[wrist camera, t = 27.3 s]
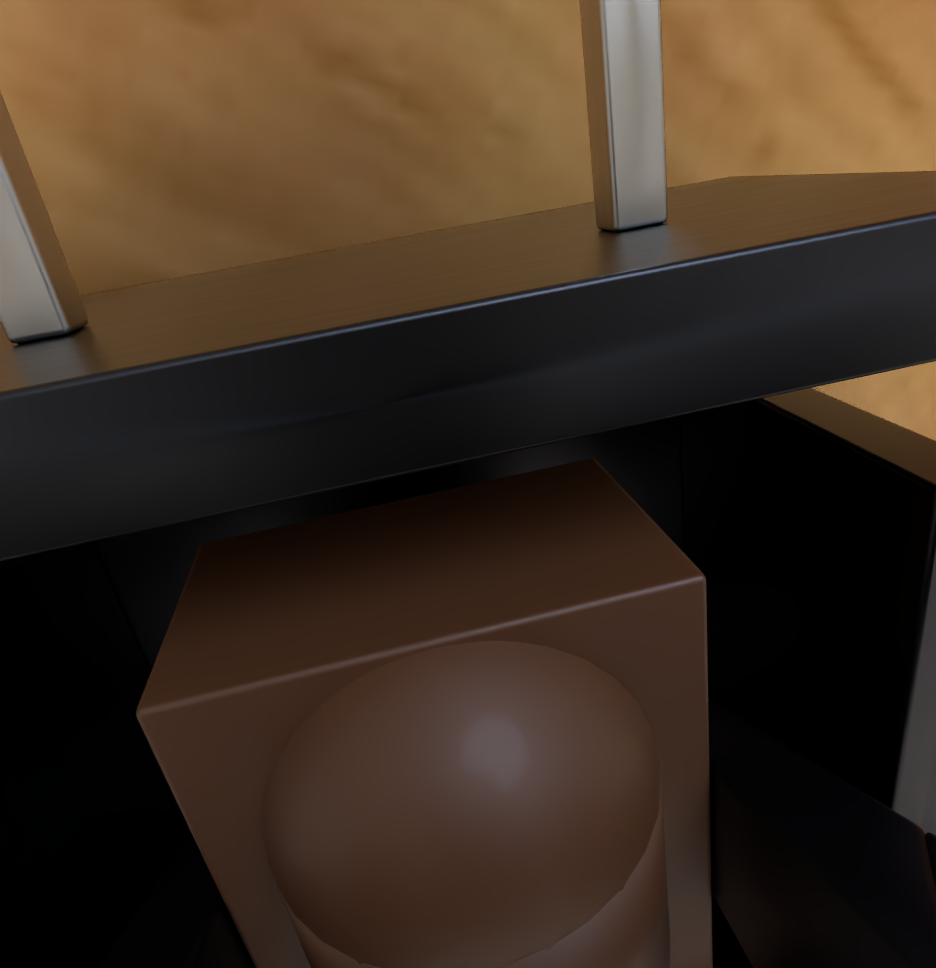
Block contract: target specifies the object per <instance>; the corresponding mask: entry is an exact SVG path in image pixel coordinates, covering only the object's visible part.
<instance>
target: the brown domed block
mask: <svg viewBox="0 0 936 968" xmlns="http://www.w3.org/2000/svg"><path fill="white" fill-rule="evenodd" d="M136 716H137V719H138V721H139V723H140V725H141V727H142V729H143V732H144V734H145V736H146V738H147V740H148V742H149V744H150V746H151V748H152V751H153V753H154V755H155V757H156V759H157V761H158V763H159V765H160V767H161V770H162V772H163V774H164V776H165V778H166V780H167V782H168V784H169V786H170V788H171V791H172V793H173V795H174V797H175V799H176V801H177V803H178V805H179V807H180V810H181V812H182V814H183V816H184V818H185V820H186V822H187V824H188V826H189V829H190V831H191V833H192V835H193V837H194V839H195V841H196V843H197V845H198V848H199V850H200V852H201V854H202V856H203V858H204V860H205V862H206V864H207V866H208V869H209V871H210V873H211V875H212V877H213V879H214V881H215V883H216V885H217V888H218V890H219V892H220V894H221V896H222V898H223V900H224V902H225V904H226V907H227V909H228V911H229V913H230V915H231V917H232V919H233V921H234V923H235V926H236V928H237V930H238V932H239V934H240V936H241V938H242V940H243V942H244V945H245V947H246V949H247V951H248V953H249V955H250V957H251V959H252V961H253V963H254V966H255V968H713V958H712V898H711V839H710V780H709V721H708V662H707V603H706V577H705V576H704V574H703V573H702V572H701V571H700V570H699V569H698V567H697V566H696V565H695V564H694V563H693V562H692V561H691V560H690V559H689V558H688V557H687V556H686V555H685V554H684V553H683V552H682V551H681V550H680V548H679V547H678V546H677V545H676V544H675V543H674V542H673V541H672V540H671V539H670V538H669V537H668V536H667V535H666V534H665V533H664V532H663V531H662V529H661V528H660V527H659V526H658V525H657V524H656V523H655V522H654V521H653V520H652V519H651V518H650V517H649V516H648V515H647V514H646V513H645V511H644V510H643V509H642V508H641V507H640V506H639V505H638V504H637V503H636V502H635V501H634V500H633V499H632V498H631V497H630V496H629V495H628V494H627V492H626V491H625V490H624V489H623V488H622V487H621V486H620V485H619V484H618V483H617V482H616V481H615V480H614V479H613V478H612V477H611V476H610V475H609V473H608V472H607V471H606V470H605V469H604V468H603V467H602V466H601V465H600V464H599V463H598V462H597V461H596V460H595V459H592V458H590V459H585V460H580V461H576V462H571V463H567V464H562V465H558V466H553V467H549V468H544V469H540V470H535V471H530V472H526V473H521V474H517V475H512V476H508V477H503V478H499V479H494V480H490V481H485V482H480V483H476V484H471V485H467V486H462V487H458V488H453V489H449V490H444V491H440V492H435V493H430V494H426V495H421V496H417V497H412V498H408V499H403V500H399V501H394V502H389V503H385V504H380V505H376V506H371V507H367V508H362V509H358V510H353V511H349V512H344V513H339V514H335V515H330V516H326V517H321V518H317V519H312V520H308V521H303V522H299V523H294V524H289V525H285V526H280V527H276V528H271V529H267V530H262V531H258V532H253V533H249V534H244V535H239V536H235V537H230V538H226V539H221V540H217V541H212V542H208V543H204V544H202V545H201V546H200V547H199V550H198V552H197V555H196V558H195V560H194V563H193V565H192V568H191V571H190V573H189V576H188V578H187V581H186V583H185V586H184V589H183V591H182V594H181V596H180V599H179V601H178V604H177V607H176V609H175V612H174V614H173V617H172V620H171V622H170V625H169V627H168V630H167V632H166V635H165V638H164V640H163V643H162V645H161V648H160V650H159V653H158V656H157V658H156V661H155V663H154V666H153V669H152V671H151V674H150V676H149V679H148V681H147V684H146V687H145V689H144V692H143V694H142V697H141V699H140V702H139V705H138V707H137V710H136Z"/></svg>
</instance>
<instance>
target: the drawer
mask: <svg viewBox="0 0 936 968" xmlns="http://www.w3.org/2000/svg"><path fill="white" fill-rule="evenodd" d="M579 1H580V14H581V27H582V41H583V54H584V67H585V81H586V94H587V107H588V121H589V134H590V148H591V161H592V174H593V188H594V201H595V202H590V203H584V204H579V205H573V206H568V207H562V208H557V209H551V210H546V211H540V212H535V213H529V214H524V215H518V216H513V217H507V218H502V219H496V220H491V221H486V222H480V223H475V224H469V225H464V226H458V227H453V228H447V229H442V230H436V231H431V232H425V233H420V234H414V235H409V236H403V237H398V238H392V239H387V240H381V241H376V242H371V243H365V244H360V245H354V246H349V247H343V248H338V249H332V250H327V251H321V252H316V253H310V254H305V255H299V256H294V257H288V258H283V259H277V260H272V261H267V262H261V263H256V264H250V265H245V266H239V267H234V268H228V269H223V270H217V271H212V272H206V273H201V274H195V275H190V276H184V277H179V278H173V279H168V280H162V281H157V282H152V283H146V284H141V285H135V286H130V287H124V288H119V289H113V290H108V291H102V292H97V293H91V294H86V295H80V296H79V293H78V290H77V288H76V285H75V283H74V280H73V278H72V275H71V272H70V270H69V267H68V265H67V262H66V259H65V257H64V254H63V252H62V249H61V247H60V244H59V241H58V239H57V236H56V234H55V231H54V228H53V226H52V223H51V221H50V218H49V216H48V213H47V210H46V208H45V205H44V203H43V200H42V198H41V195H40V192H39V190H38V187H37V185H36V182H35V179H34V177H33V174H32V172H31V169H30V167H29V164H28V161H27V159H26V156H25V154H24V151H23V148H22V146H21V143H20V141H19V138H18V136H17V133H16V130H15V128H14V125H13V123H12V120H11V118H10V115H9V112H8V110H7V107H6V105H5V102H4V99H3V97H2V94H1V92H0V968H98V967H99V965H100V964H101V963H102V961H103V960H104V958H105V957H106V955H107V954H108V952H109V951H110V950H111V948H112V947H113V945H114V944H115V942H116V941H117V940H118V938H119V937H120V935H121V934H122V932H123V931H124V929H125V928H126V927H127V925H128V924H129V922H130V921H131V919H132V918H133V916H134V915H135V914H136V912H137V911H138V909H139V908H140V906H141V905H142V903H143V902H144V901H145V899H146V898H147V896H148V895H149V893H150V892H151V891H152V889H153V888H154V886H155V885H156V883H157V882H158V880H159V879H160V878H161V876H162V875H163V873H164V872H165V870H166V869H167V867H168V866H169V865H170V863H171V862H172V860H173V859H174V857H175V856H176V854H177V853H178V852H179V850H180V849H181V847H182V846H183V844H184V843H185V841H186V840H187V839H188V837H189V836H190V834H191V831H190V829H189V826H188V824H187V822H186V820H185V818H184V816H183V814H182V812H181V810H180V807H179V805H178V803H177V801H176V799H175V797H174V795H173V793H172V791H171V788H170V786H169V784H168V782H167V780H166V778H165V776H164V774H163V772H162V770H161V767H160V765H159V763H158V761H157V759H156V757H155V755H154V753H153V751H152V748H151V746H150V744H149V742H148V740H147V738H146V736H145V734H144V732H143V729H142V727H141V725H140V723H139V721H138V719H137V716H136V710H137V707H138V705H139V702H140V699H141V697H142V694H143V692H144V689H145V687H146V684H147V681H148V679H149V676H150V674H151V671H152V669H153V666H154V663H155V661H156V658H157V656H158V653H159V650H160V648H161V645H162V643H163V640H164V638H165V635H166V632H167V630H168V627H169V625H170V622H171V620H172V617H173V614H174V612H175V609H176V607H177V604H178V601H179V599H180V596H181V594H182V591H183V589H184V586H185V583H186V581H187V578H188V576H189V573H190V571H191V568H192V565H193V563H194V560H195V558H196V555H197V552H198V550H199V547H200V546H201V545H202V544H204V543H208V542H212V541H217V540H221V539H226V538H230V537H235V536H239V535H244V534H249V533H253V532H258V531H262V530H267V529H271V528H276V527H280V526H285V525H289V524H294V523H299V522H303V521H308V520H312V519H317V518H321V517H326V516H330V515H335V514H339V513H344V512H349V511H353V510H358V509H362V508H367V507H371V506H376V505H380V504H385V503H389V502H394V501H399V500H403V499H408V498H412V497H417V496H421V495H426V494H430V493H435V492H440V491H444V490H449V489H453V488H458V487H462V486H467V485H471V484H476V483H480V482H485V481H490V480H494V479H499V478H503V477H508V476H512V475H517V474H521V473H526V472H530V471H535V470H540V469H544V468H549V467H553V466H558V465H562V464H567V463H571V462H576V461H580V460H585V459H590V458H592V459H595V460H596V461H597V462H598V463H599V464H600V465H601V466H602V467H603V468H604V469H605V470H606V471H607V472H608V473H609V475H610V476H611V477H612V478H613V479H614V480H615V481H616V482H617V483H618V484H619V485H620V486H621V487H622V488H623V489H624V490H625V491H626V492H627V494H628V495H629V496H630V497H631V498H632V499H633V500H634V501H635V502H636V503H637V504H638V505H639V506H640V507H641V508H642V509H643V510H644V511H645V513H646V514H647V515H648V516H649V517H650V518H651V519H652V520H653V521H654V522H655V523H656V524H657V525H658V526H659V527H660V528H661V529H662V531H663V532H664V533H665V534H666V535H667V536H668V537H669V538H670V539H671V540H672V541H673V542H674V543H675V544H676V545H677V546H678V547H679V548H680V550H681V551H682V552H683V553H684V554H685V555H686V556H687V557H688V558H689V559H690V560H691V561H692V562H693V563H694V564H695V565H696V566H697V567H698V569H699V570H700V571H701V572H702V573H703V574H704V576H705V577H706V603H707V662H708V699H710V700H711V701H713V702H715V703H716V704H718V705H720V706H721V707H723V708H725V709H726V710H728V711H730V712H731V713H733V714H735V715H736V716H738V717H740V718H741V719H743V720H745V721H746V722H748V723H750V724H751V725H753V726H755V727H756V728H758V729H760V730H761V731H763V732H765V733H766V734H768V735H770V736H771V737H773V738H774V739H776V740H778V741H779V742H781V743H783V744H784V745H786V746H788V747H789V748H791V749H793V750H794V751H796V752H798V753H799V754H801V755H803V756H804V757H806V758H808V759H809V760H811V761H813V762H814V763H816V764H818V765H819V766H821V767H823V768H824V769H826V770H828V771H829V772H831V773H833V774H834V775H836V776H838V777H839V778H841V779H843V780H844V781H846V782H847V783H849V784H851V785H852V786H854V787H856V788H857V789H859V790H861V791H862V792H864V793H866V794H867V795H869V796H871V797H872V798H874V799H876V800H877V801H879V802H881V803H882V804H884V805H886V806H887V807H889V808H891V809H892V810H894V811H896V812H897V813H899V814H901V815H902V816H904V817H906V818H907V819H909V820H911V821H912V822H914V823H915V824H917V825H919V826H920V827H922V828H923V830H924V833H925V834H926V833H928V832H930V833H933V834H934V835H936V441H935V440H932V439H930V438H928V437H925V436H923V435H921V434H918V433H916V432H913V431H911V430H909V429H906V428H904V427H902V426H899V425H897V424H895V423H892V422H890V421H888V420H885V419H883V418H881V417H878V416H876V415H873V414H871V413H869V412H866V411H864V410H862V409H859V408H857V407H855V406H852V405H850V404H848V403H845V402H843V401H841V400H838V399H836V398H833V397H831V396H829V395H826V394H824V393H822V392H819V391H817V390H815V389H812V387H816V386H821V385H826V384H830V383H835V382H840V381H844V380H849V379H854V378H858V377H863V376H868V375H872V374H877V373H882V372H886V371H891V370H896V369H900V368H905V367H910V366H914V365H919V364H924V363H928V362H933V361H936V171H918V172H882V173H846V174H810V175H774V176H738V177H726V178H721V179H715V180H710V181H705V182H699V183H694V184H688V185H683V186H677V187H672V188H667V183H666V153H665V123H664V94H663V64H662V34H661V5H660V0H579ZM711 898H712V958H713V968H753V966H752V964H751V963H750V961H749V959H748V957H747V955H746V954H745V952H744V950H743V948H742V946H741V945H740V943H739V941H738V939H737V937H736V935H735V934H734V932H733V930H732V928H731V926H730V925H729V923H728V921H727V919H726V917H725V916H724V914H723V912H722V910H721V908H720V907H719V905H718V903H717V901H716V899H715V897H714V896H713V894H712V892H711Z"/></svg>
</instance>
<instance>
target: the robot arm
mask: <svg viewBox="0 0 936 968" xmlns="http://www.w3.org/2000/svg"><path fill="white" fill-rule="evenodd" d="M708 721H709V780H710V839H711V892H712V894H713V896H714V897H715V899H716V901H717V903H718V905H719V907H720V908H721V910H722V912H723V914H724V916H725V917H726V919H727V921H728V923H729V925H730V926H731V928H732V930H733V932H734V934H735V935H736V937H737V939H738V941H739V943H740V945H741V946H742V948H743V950H744V952H745V954H746V955H747V957H748V959H749V961H750V963H751V964H752V966H753V968H936V835H934V834H933V833H930V832H928V833H926V834H925V833H924V830H923V828H922V827H920V826H919V825H917V824H915V823H914V822H912V821H911V820H909V819H907V818H906V817H904V816H902V815H901V814H899V813H897V812H896V811H894V810H892V809H891V808H889V807H887V806H886V805H884V804H882V803H881V802H879V801H877V800H876V799H874V798H872V797H871V796H869V795H867V794H866V793H864V792H862V791H861V790H859V789H857V788H856V787H854V786H852V785H851V784H849V783H847V782H846V781H844V780H843V779H841V778H839V777H838V776H836V775H834V774H833V773H831V772H829V771H828V770H826V769H824V768H823V767H821V766H819V765H818V764H816V763H814V762H813V761H811V760H809V759H808V758H806V757H804V756H803V755H801V754H799V753H798V752H796V751H794V750H793V749H791V748H789V747H788V746H786V745H784V744H783V743H781V742H779V741H778V740H776V739H774V738H773V737H771V736H770V735H768V734H766V733H765V732H763V731H761V730H760V729H758V728H756V727H755V726H753V725H751V724H750V723H748V722H746V721H745V720H743V719H741V718H740V717H738V716H736V715H735V714H733V713H731V712H730V711H728V710H726V709H725V708H723V707H721V706H720V705H718V704H716V703H715V702H713V701H711V700H710V699H708ZM98 968H255V966H254V963H253V961H252V959H251V957H250V955H249V953H248V951H247V949H246V947H245V945H244V942H243V940H242V938H241V936H240V934H239V932H238V930H237V928H236V926H235V923H234V921H233V919H232V917H231V915H230V913H229V911H228V909H227V907H226V904H225V902H224V900H223V898H222V896H221V894H220V892H219V890H218V888H217V885H216V883H215V881H214V879H213V877H212V875H211V873H210V871H209V869H208V866H207V864H206V862H205V860H204V858H203V856H202V854H201V852H200V850H199V848H198V845H197V843H196V841H195V839H194V837H193V835H192V833H191V834H190V836H189V837H188V839H187V840H186V841H185V843H184V844H183V846H182V847H181V849H180V850H179V852H178V853H177V854H176V856H175V857H174V859H173V860H172V862H171V863H170V865H169V866H168V867H167V869H166V870H165V872H164V873H163V875H162V876H161V878H160V879H159V880H158V882H157V883H156V885H155V886H154V888H153V889H152V891H151V892H150V893H149V895H148V896H147V898H146V899H145V901H144V902H143V903H142V905H141V906H140V908H139V909H138V911H137V912H136V914H135V915H134V916H133V918H132V919H131V921H130V922H129V924H128V925H127V927H126V928H125V929H124V931H123V932H122V934H121V935H120V937H119V938H118V940H117V941H116V942H115V944H114V945H113V947H112V948H111V950H110V951H109V952H108V954H107V955H106V957H105V958H104V960H103V961H102V963H101V964H100V965H99V967H98Z"/></svg>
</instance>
